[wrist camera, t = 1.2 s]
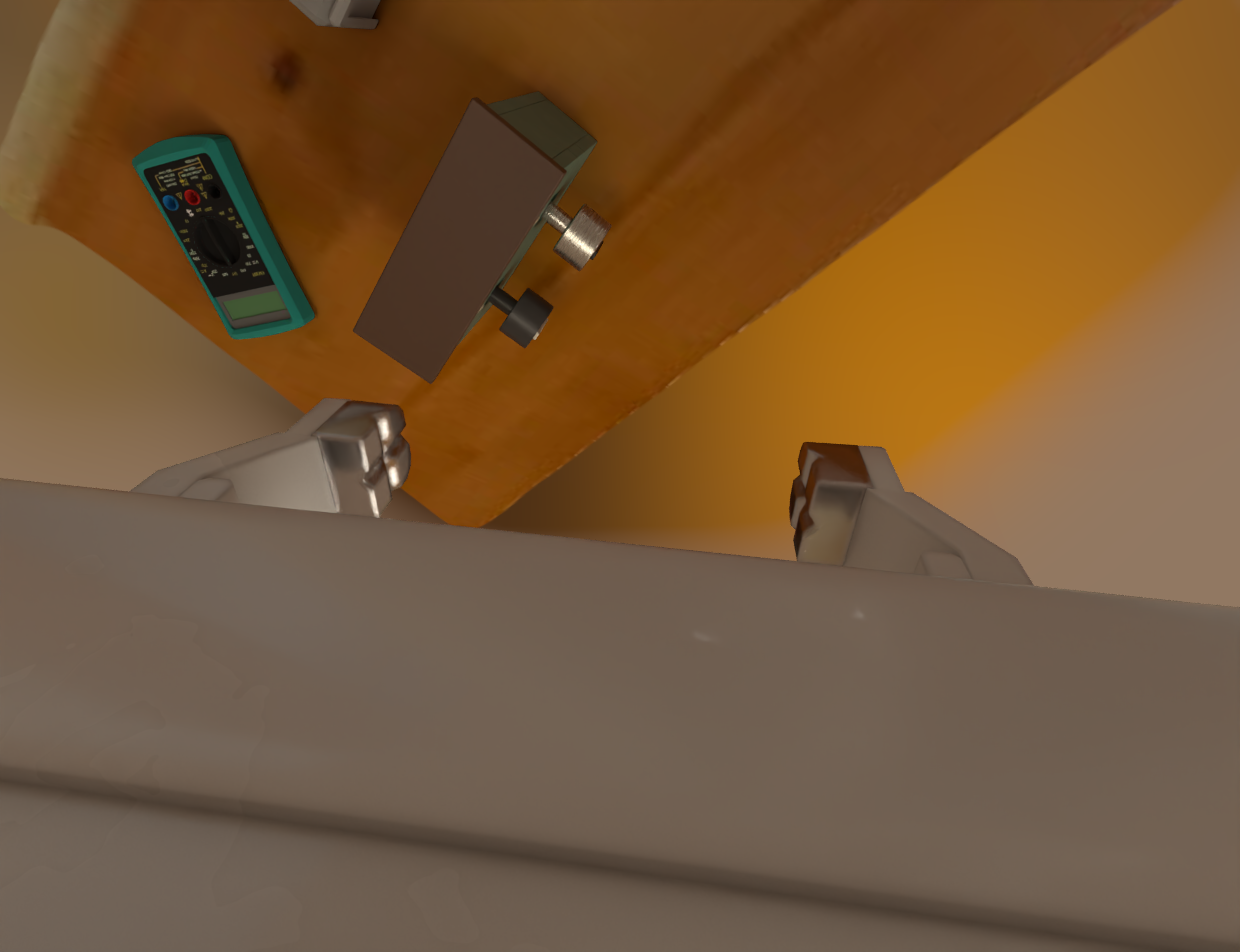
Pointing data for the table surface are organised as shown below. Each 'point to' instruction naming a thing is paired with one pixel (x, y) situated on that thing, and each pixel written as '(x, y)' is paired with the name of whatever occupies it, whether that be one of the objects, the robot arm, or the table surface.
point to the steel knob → (577, 233)
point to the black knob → (521, 314)
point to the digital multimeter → (224, 234)
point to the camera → (340, 12)
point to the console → (472, 227)
